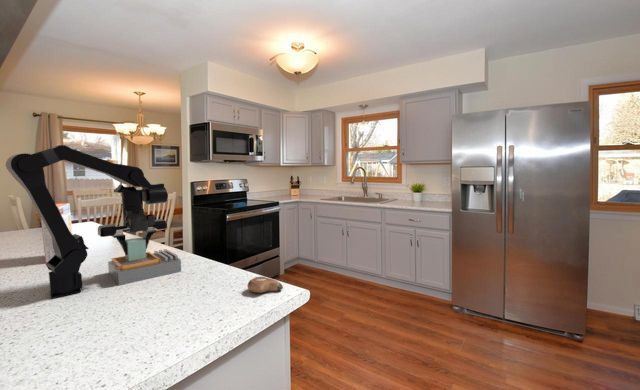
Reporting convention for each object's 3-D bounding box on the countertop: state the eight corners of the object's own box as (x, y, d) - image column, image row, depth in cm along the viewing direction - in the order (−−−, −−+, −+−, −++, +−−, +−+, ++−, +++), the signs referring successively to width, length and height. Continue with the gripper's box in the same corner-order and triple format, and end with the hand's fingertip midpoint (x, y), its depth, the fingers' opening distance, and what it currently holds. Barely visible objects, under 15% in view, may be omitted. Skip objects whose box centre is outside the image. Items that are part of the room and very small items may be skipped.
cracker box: (56, 254, 127) (52, 203, 125) (74, 252, 130) (71, 202, 128) (43, 263, 114) (38, 207, 113) (64, 261, 117) (59, 206, 115)
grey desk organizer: (118, 285, 92) (117, 268, 92) (108, 273, 103) (107, 258, 103) (181, 271, 105) (180, 256, 104) (166, 261, 116) (165, 248, 115)
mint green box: (129, 261, 98) (127, 242, 98) (123, 256, 104) (122, 238, 103) (146, 257, 102) (145, 239, 101) (140, 253, 107) (139, 236, 107)
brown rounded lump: (264, 302, 82) (285, 293, 88) (265, 288, 81) (286, 279, 88) (242, 290, 87) (263, 282, 94) (243, 277, 87) (264, 269, 93)
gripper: (102, 211, 88) (106, 265, 89) (171, 205, 101) (174, 252, 102) (95, 207, 96) (99, 257, 97) (160, 202, 109) (162, 246, 110)
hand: (135, 253), depth 102 cm, fingers closed on mint green box, 5 cm apart
